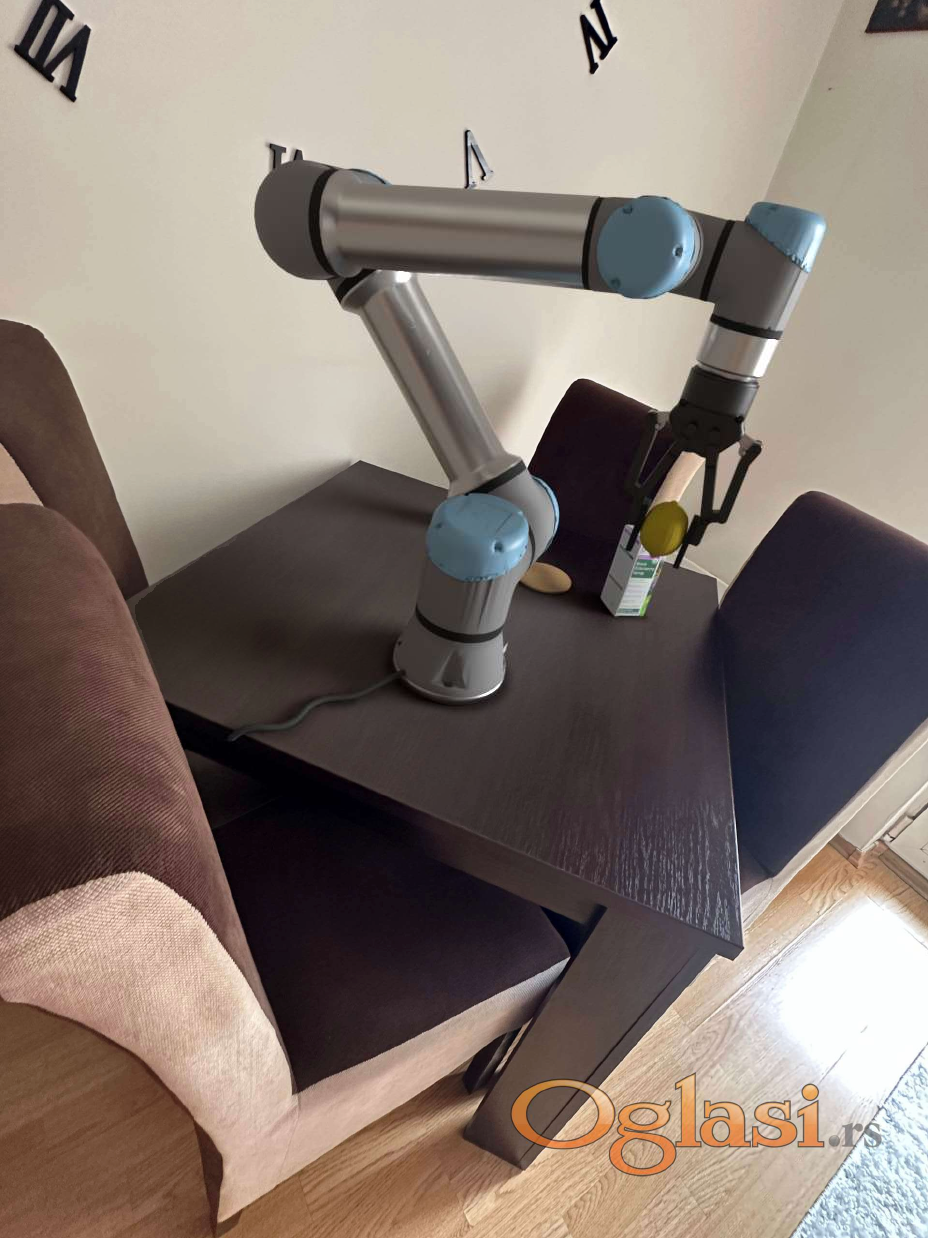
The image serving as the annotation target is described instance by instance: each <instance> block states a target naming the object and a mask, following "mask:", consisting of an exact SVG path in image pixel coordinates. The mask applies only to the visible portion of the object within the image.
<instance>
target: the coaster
mask: <svg viewBox="0 0 928 1238" xmlns="http://www.w3.org/2000/svg"><path fill="white" fill-rule="evenodd" d="M519 582H520V583H521V584H523V585H524V586H526V587H527V588H529V589H532V590H534V591H536V592H540V593H545V594H551V595H553V594H555V595H556V594H557V595H558V594H563V593H566V592H567V591H569V589H570V588H571V586H572V580H571V578H570V576H569V575H568V574H567V573H566V572H564V571H563V570H562V569H560V568H558V567H556V566H554V565H551V564H549V563H544V562H540V561H539V562H538V561H535V562H534V563H533V565H532V566H531V567H530V568H529V569H528V571H527V572H526V573H525V574H524V575H523V577H522V578H521V579H520V580H519Z"/></svg>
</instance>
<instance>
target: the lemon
mask: <svg viewBox="0 0 928 1238" xmlns="http://www.w3.org/2000/svg"><path fill="white" fill-rule="evenodd" d="M688 529H689V516H688V513H687V512H686V510H685V509H684V507H683V506H682V505H680V503H679V501H677V500H670V501H663V502H659V503H657V504H656V505H654V506H653V507H652V508H651V509H650V510H648V511H647V514H646V516H645V518H644V520H643V523H642V525H641V529H640V541H641V544H642V546H643V548H644V549H645V550H646V551H647V552H649V555H650V557H652V558H656V557H659V556H670V555H673V554H674V553H675V552H676V551H678V550H679V549H680V548H681V545H682V543H683V541H684V539H685V536H686V534H687V531H688Z"/></svg>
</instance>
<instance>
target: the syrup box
mask: <svg viewBox="0 0 928 1238" xmlns="http://www.w3.org/2000/svg"><path fill="white" fill-rule="evenodd" d="M633 527H634V524H625V525H624V528H623V529H622V533H621V537H620V539H619V541H618V545H617V548H616V550H615V554H614V557H613V560H612V563H611V565H610V569H609V571H608V575H607V577H606V580H605V583H604V586H603V589H602V591H601V594H600V600H601V601H602V602H603V604H604V605H605V607H606V608H607V609H608V610H609V612H610V613H611V614H612V616H613V617H621V616H622V617H625V616H626V617H628V616H629V617H644V614H645V612H646V609H647V607H648V605H649V603H650V600H651V597H652V594H653V592H654V589H655V587H656V584H657V582H658V579H659V577H660V574H661V571H662V569H663V566H664V565H665V562H666V559H667V556H668V555H667V556H659V557H656V558H652V557H650V555H649V552H647V551H646V550H645V549H644V548H643V546H642V544H641V541H640V532H639V535H638V537H637V540H636V543H635V545H634V547H633V549H632V550H631V552H629V551H626V550H625V549H626V546H627V543H628V541H629V538H630V535H631V533H632V530H633Z"/></svg>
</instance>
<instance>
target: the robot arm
mask: <svg viewBox="0 0 928 1238" xmlns="http://www.w3.org/2000/svg"><path fill="white" fill-rule="evenodd" d="M253 210H254V211H253V219H254V225H255V226H254V227H255V231H256V233H257V238H258V240H259V241H260V244H261V246H262V249H263V250H264V251H265V253H266V254H267V256H268V257H269V258H270V260H272V262H273V263H275V265H276V266H277V267H278V268H280V269H281V270H283V272H286V273H287V274H289V275H291V276H293V277H295V278H298V279H303V280H307V281H326V282H327V284H328V285H329V287H330V289H331V292H332V293H333V295H334V297H335V298H336V300H337V302H338V303H339V305H340V307H341V309H342V310H343V311H346V312H348V313H350V314H354V315H357V316H358V317H360V319H361V321H362V323H363V325H364V327H365V328H366V330H367V332H368V334H369V336H370V337H371V340H372V342H373V343H374V345H375V347H376V349H377V350H378V352H379V355H380V356H381V358H382V360H383V361H384V363H385V365H386V367H387V369H388V371H389V372H390V374H391V376H392V378H393V380H394V382H395V384H396V385H397V388H398V390H399V391H400V393H401V394H402V396H403V399H404V401H405V402H406V404H407V405H408V407H409V409H410V411H411V413H412V414H413V416H414V419H415V421H416V422H417V424H418V426H419V428H420V429H421V431H422V433H423V435H424V437H425V439H426V440H427V442H428V444H429V446H430V448H431V450H432V452H433V453H434V455H435V457H436V459H437V461H438V463H439V464H440V466H441V468H442V470H443V472H444V474H445V476H446V477H447V480H448V481H449V486H448V490H447V491H448V492H447V494H446V497H445V498H446V499H445V500H444V501H443V502H441V503H440V504H439V505H438V506H437V507H436V509H435V510H434V512H433V514H432V517H431V521H430V524H429V526H428V530H427V532H426V536H425V549H424V555H423V561H422V567H421V573H420V577H419V578H420V579H419V584H418V591H417V596H416V603H415V608H414V612H413V614H412V615H411V618H410V619H409V621H408V622H407V624H406V625H405V627H404V628H403V631H402V633H401V634H400V635H399V637H398V639H397V641H396V643H395V646H394V649H393V654H392V668H393V672H394V673H392V674H389V675H387V676H384V677H382V678H381V679H379V680H376V681H375V682H373V683H371V684H369V685H368V686H365V687H363V688H361V689H359V690H357V691H353V692H349V693H341V694H329V695H328V694H327V695H322V696H319V697H316V698H314V699H312V700H310V701H309V702H307V703H306V704H305V705H304V706H302V708H301V709H300V710H299V711H298V712H297V713H296V714H295V715H294V716H292V717H290V719H288V720H286V721H283V722H278V723H250V724H246V725H242V726H240V727H239V728H237V729H235V730H234V731H232V733H231V734H229V736H227V738H226V741H228V742H233V741H236V740H237V739H238V738H240V737H241V736H243V735H244V734H247V733H251V732H278V731H279V732H280V731H283V730H287V729H290V728H291V727H293V726H295V725H296V724H297V723H299V722H300V721H301V720H302V719H303V718H304V717H305V716H306V715H307V714H308V713H309V712H310V710H312V709H313V708H315V707H316V706H318V705H321V704H326V703H331V702H345V701H351V700H355V699H358V698H361V697H363V696H366V695H368V694H370V693H372V692H373V691H375V690H377V689H379V688H381V687H382V686H385V685H387V684H389V683H391V682H393V681H395V680H397V679H398V680H399V681H400V682H401V683H402V684H403V686H404V687H406V688H407V689H408V690H410V691H411V692H412V693H413V694H416V695H418V696H420V697H421V698H422V699H423V698H424V699H426V700H429V701H431V702H435V703H439V704H442V705H448V706H449V705H450V706H470V705H475V704H479V703H483V702H485V701H487V700H489V699H491V698H492V697H494V696H495V695H496V694H497V693H498V692H499V690H500V689H501V688H502V685H503V682H504V679H505V675H506V668H507V664H506V662H507V661H506V657H505V652H506V650H507V647H508V643H509V642H507V643H506V644H505V645H504V635H503V634H504V633H503V631H504V627H505V623H506V621H507V616H508V612H509V609H510V605H511V601H512V597H513V594H514V591H515V589H516V587H517V585H518V583H519V582H520V581H519V580H520V579H521V578H522V577H523V575H524V574H525V573H526V572H527V571H528V569H529V568H530V567H531V566H532V565H533V563H534V562H537V560H538V559H539V557H541V556H542V555H543V554H544V553H545V552H546V551H547V550H548V549H549V546H550V545H551V544H552V541H553V538H554V537H555V535H556V532H557V530H558V526H559V521H560V520H559V518H560V511H559V505H558V504H559V503H558V501H557V498H556V496H555V494H554V492H553V490H552V489H551V487H549V485H547V483H546V482H545V481H544V480H542V479H541V478H539V477H536V476H534V475H533V474H531V473H530V471H529V469H528V467H527V465H526V463H525V461H524V459H523V458H522V457H521V456H520V455H517V454H514V453H511V452H509V451H508V450H505V447H504V445H503V443H502V442H501V440H500V438H499V435H498V434H497V432H496V430H495V428H494V426H493V423H492V422H491V420H490V418H489V416H488V415H487V412H486V410H485V408H484V407H483V404H482V403H481V400H480V399H479V397H478V395H477V393H476V391H475V389H474V386H473V385H472V384H471V382H470V379H469V378H468V376H467V374H466V372H465V370H464V367H463V366H462V363H461V362H460V360H459V358H458V356H457V354H456V353H455V350H454V348H453V346H452V344H451V343H450V341H449V339H448V337H447V335H446V333H445V331H444V329H443V327H442V325H441V324H440V321H439V320H438V317H437V316H436V314H435V311H434V310H433V308H432V305H431V304H430V302H429V300H428V298H427V296H426V294H425V293H424V290H423V288H422V287H421V284H420V283H419V275H420V274H421V275H429V276H440V277H450V278H460V279H470V280H482V281H490V282H502V283H509V284H510V283H511V284H522V285H531V286H539V287H540V286H543V287H551V288H563V289H573V290H582V291H592V292H597V293H607V294H614V295H615V294H616V295H620V296H622V297H623V298H626V299H631V300H632V299H633V300H652V299H655V298H658V297H661V296H662V295H665V294H666V293H668V294H673V295H676V296H677V295H678V296H682V297H686V298H690V299H695V300H699V301H701V302H705V303H707V302H708V303H710V304H711V303H712V304H714V306H713V310H712V313H711V315H710V318H709V320H708V321H707V324H706V327H705V330H704V332H703V335H702V338H701V342H700V344H699V347H698V349H697V351H696V355H695V360H696V361H697V362H698V364H695V365H693V366H691V368H690V370H689V373H688V376H687V378H686V381H685V384H684V387H683V389H682V392H681V395H680V398H679V399H678V402H677V403H676V405H675V406H674V407H672V409H671V410H659V409H657V408H651V409H650V410H649V411H648V412H647V413H646V414H645V417H644V431H643V432H644V433H643V435H642V438H641V440H640V442H639V445H638V448H637V450H636V452H635V455H634V457H633V460H632V462H631V465H630V468H629V470H628V473H627V475H626V478H625V480H624V483H623V485H622V490H623V491H624V492H625V493H629V494H630V495H631V496H632V498H633V502H632V505H631V507H630V509H629V512H628V515H627V518H626V522H627V523H628V524H630V525H634V527H633V530H632V533H631V535H630V538H629V541H628V543H627V546H626V549H625V550H626V551H629V552H631V550H632V549H633V547H634V545H635V543H636V540H637V537H638V535H639V532H640V529H641V525H642V523H643V520H644V518H645V517H646V515H647V514H648V512H649V508H650V506H651V503H652V500H653V499H652V498H649V497H648V495H649V494H650V493H651V491H652V490H653V489H654V487H655V486H656V485H657V484H658V482H659V481H660V480H661V478H662V477H663V476H664V475H665V473H666V471H667V470H669V468H670V467H671V465H672V463H673V462H674V461H675V460H676V458H677V457H678V456H679V455H680V453H681V452H684V453H686V454H687V453H688V454H689V453H690V454H695V455H697V456H698V457H700V458H703V459H705V462H704V474H703V475H704V476H703V484H702V494H701V502H700V503H701V504H700V512H699V514H696V513H694V515H693V517H692V519H691V522H690V524H689V526H688V529H687V534H686V536H685V539H684V541H683V543H682V545H681V546H680V547H679V549H678V553H677V555H676V557H675V560H674V562H673V565H672V568H673V569H675V570H679V568H680V566H681V564H682V562H683V559H684V557H685V555H686V552H687V551H688V547H689V545H691V546H693V547H698V546H699V545H700V544H701V542H702V540H703V537H704V535H705V533H706V531H707V528H708V527H709V525H711V524H719V525H725V524H726V523H727V522H728V521H729V518H730V515H731V512H732V510H733V508H734V505H735V503H736V500H737V498H738V495H739V494H740V490H741V488H742V485H743V484H744V480H745V478H746V476H747V473H748V471H749V468H750V466H751V465H752V464H753V462H754V461H755V460H756V459H757V458H758V457H759V456H760V455H761V453H762V451H763V446H764V445H763V444H764V443H763V442H762V441H761V440H760V439H754V438H753V437H751V436H750V435H748V434H747V433H745V432H746V427H745V423H746V422H745V421H746V419H747V416H748V414H749V412H750V409H751V408H752V406H753V403H754V400H755V398H756V396H757V393H758V392H759V389H760V385H759V384H760V383H759V381H758V379H761V378H763V377H765V375H766V373H767V370H768V368H769V366H770V364H771V362H772V359H773V356H774V354H775V352H776V350H777V347H778V345H779V343H780V341H781V337H782V335H783V332H784V331H785V329H786V326H787V324H788V322H789V320H790V317H791V315H792V313H793V310H794V308H795V306H796V304H797V302H798V299H799V297H800V296H801V293H802V290H803V288H804V286H805V284H806V281H807V279H808V277H809V275H810V272H811V271H812V268H813V264H814V262H815V259H816V256H817V254H818V251H819V249H820V247H821V243H822V242H823V238H824V236H825V233H826V229H827V224H826V221H825V218H824V217H823V216H822V215H821V214H819V213H817V212H815V211H811V210H807V209H805V208H801V207H796V206H792V205H786V204H779V203H776V202H775V203H774V202H770V201H769V202H768V201H756V202H755V203H754V204H753V205H751V208H750V210H749V212H748V214H747V215H746V216H745V217H744V219H743V220H739V219H736V220H734V219H726V218H722V217H718V216H714V215H710V214H707V213H703V212H699V211H695V210H691V209H687V208H685V207H683V206H682V205H681V204H680V203H679V202H677V201H674V200H673V199H671V198H670V197H668V196H659V195H649V194H648V195H647V194H645V195H640V196H638V197H623V196H600V195H592V194H591V195H589V194H588V195H587V194H569V193H554V192H553V193H552V192H537V191H536V192H535V191H534V192H533V191H519V190H518V191H516V190H497V189H479V188H465V187H464V188H463V187H462V188H461V187H444V186H443V187H442V186H429V185H426V186H425V185H411V184H410V185H409V184H408V185H407V184H392V183H391V182H390V181H388V180H387V179H385V178H383V177H381V176H379V175H378V174H376V173H373V172H372V171H369V170H365V169H361V168H353V167H351V168H343V167H340V166H335V165H332V164H331V165H330V164H328V163H327V164H326V163H323V162H319V161H313V160H309V159H295V160H288V161H286V162H283V163H281V164H279V165H278V166H276V167H274V168H273V169H272V170H270V171H269V173H268V174H267V175H266V176H265V177H264V178H263V180H262V182H261V183H260V185H259V187H258V189H257V192H256V195H255V200H254V208H253ZM667 422H669V423H670V426H671V431H672V435H673V438H674V441H673V443H672V444H671V446H670V447H669V449H668V450H667V451H666V453H665V454H664V455H663V457H662V458H661V460H660V461H659V462H658V463H657V465H656V466H655V468H653V470H652V471H651V473H650V474H649V476H648V477H647V478H646V480H645V481H644V482H643V484H641V483H639V482H638V481H639V478H640V477H641V473H642V471H643V468H644V466H645V463H646V462H647V459H648V455H649V454H650V452H651V449H652V447H653V444H654V442H655V439H656V436H657V434H658V431H661V430H662V429H663V427H665V424H666V423H667ZM736 443H738V444H739V448H738V452H737V453H738V455H739V456H740V457H739V460H738V462H737V464H736V466H735V470H734V471H733V474H732V477H731V479H730V483H729V485H728V487H727V490H726V492H725V496H724V498H723V500H722V503H721V505H720V508H719V509H714V502H715V493H716V484H717V483H716V482H717V475H718V468H719V467H718V466H719V460H720V454H722V453H723V452H724V451H726V450H728V449H729V448H731V447H733V446H734V445H735V444H736Z"/></svg>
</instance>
